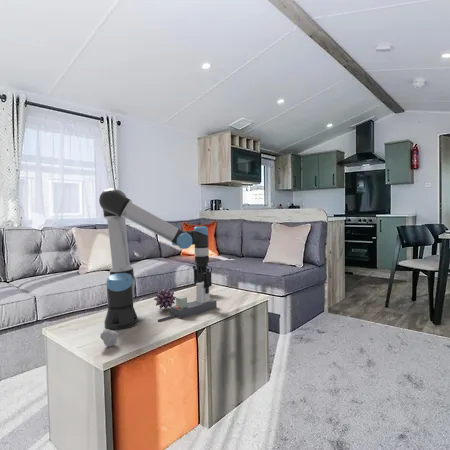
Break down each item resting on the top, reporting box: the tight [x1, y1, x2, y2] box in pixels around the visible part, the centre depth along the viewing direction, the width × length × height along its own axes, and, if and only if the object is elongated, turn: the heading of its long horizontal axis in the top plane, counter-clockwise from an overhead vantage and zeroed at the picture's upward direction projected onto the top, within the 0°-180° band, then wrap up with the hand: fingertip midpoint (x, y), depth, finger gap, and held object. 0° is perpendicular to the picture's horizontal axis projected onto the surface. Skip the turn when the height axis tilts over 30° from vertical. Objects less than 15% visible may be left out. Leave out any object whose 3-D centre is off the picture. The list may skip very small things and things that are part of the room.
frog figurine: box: [99, 328, 119, 348], centre depth 136 cm, size 6×7×7 cm
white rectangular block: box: [195, 282, 211, 303], centre depth 182 cm, size 5×5×11 cm
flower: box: [153, 287, 176, 311], centre depth 182 cm, size 12×12×12 cm
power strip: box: [157, 298, 218, 323], centre depth 175 cm, size 34×8×5 cm, turn 132°
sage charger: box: [175, 295, 188, 309], centre depth 172 cm, size 4×4×5 cm
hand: (203, 298), depth 182 cm, fingers closed on white rectangular block, 5 cm apart
